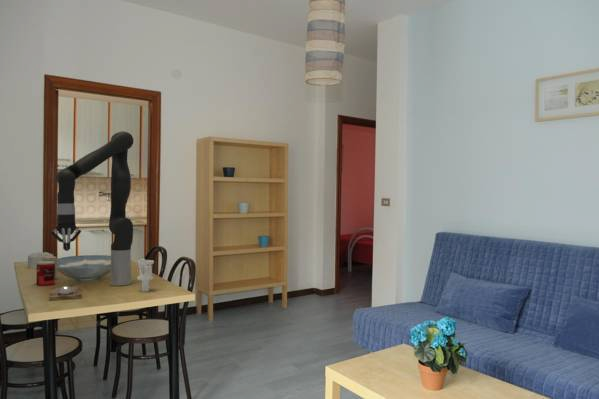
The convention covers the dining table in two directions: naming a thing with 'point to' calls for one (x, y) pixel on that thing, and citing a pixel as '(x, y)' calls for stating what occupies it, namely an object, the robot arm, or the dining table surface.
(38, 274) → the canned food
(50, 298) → the wooden cutting board
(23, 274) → the dining table surface
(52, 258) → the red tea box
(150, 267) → the white tall piece
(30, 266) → the lumpy-topped squat cylinder
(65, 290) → the ball
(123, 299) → the dining table surface
